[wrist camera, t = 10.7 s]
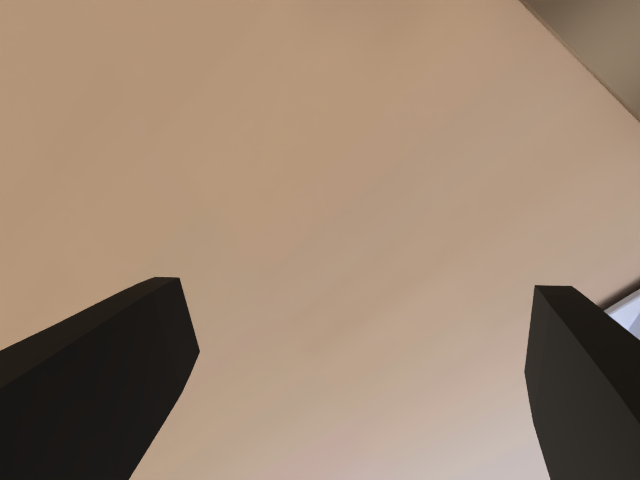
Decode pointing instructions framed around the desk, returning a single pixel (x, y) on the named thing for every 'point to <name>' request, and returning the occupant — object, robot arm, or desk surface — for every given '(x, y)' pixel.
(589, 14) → the tan board
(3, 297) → the desk surface
